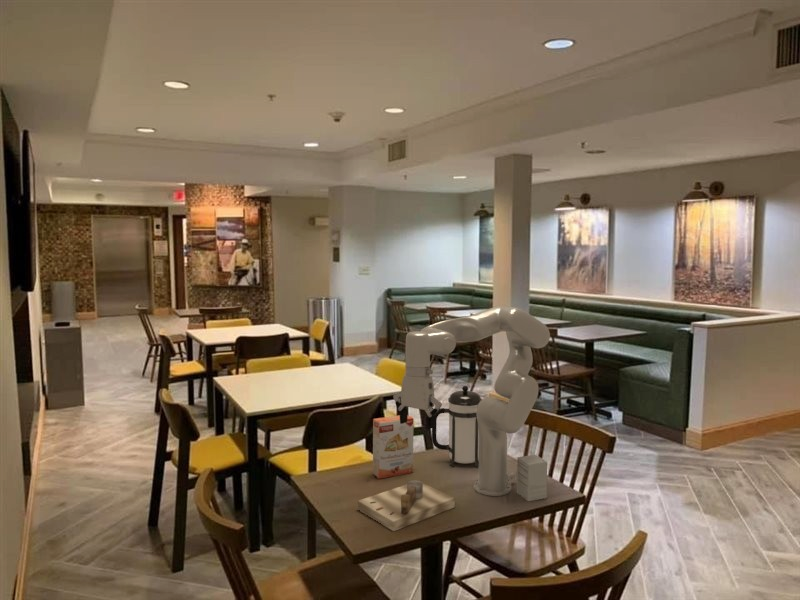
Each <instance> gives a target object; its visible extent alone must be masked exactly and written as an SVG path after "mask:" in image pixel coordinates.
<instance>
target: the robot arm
mask: <svg viewBox="0 0 800 600" xmlns="http://www.w3.org/2000/svg"><path fill="white" fill-rule="evenodd" d="M501 332H504V333H505V335H506V338H507V343H508V347H509V351H508V352H509V353H508V355H507V356H508V357H507V358H506V360H505V363H504V364H503V367H502V368H501V370H500V371H499V374H498V376H497V377H496V380H495V381H494V386H493V387H494V391H495V392H496V394H497V395H499V396H501V397H503V398H504V399H507V400H508V401H506V400H503V399H500V398H497V397H494V396H492V397H491V396H488V397H484V398H481V399H482V400H481V401H480V402H479V404H478V406H477V410H476V415H477V421H478V427H479V460H478V461H479V467H478V478H477V479H478V480H476V481H475V482H474V483H473V489H474V490H475V491H476V492H477V493H479V494H481V495H484V496H489V497H491V496H492V497H500V496H504V495H508V494H509V493H511V490H512V485H511V484H510V483H509V481H510V480H512V479H514V478H515V477H516V475H515V473H514V472H512V471H511V472H509V473H508V472H507V471H508V470H507V469H508V437H507V434H511V435H512V434H515V433H517V432H519V431H520V430H521V429H522V427H523V426H524V424H525V423H526V421H527V419H528V417H529V415H530V412H531V411H532V409H533V407H534V405H535V403H536V401H537V399H538V396H539V384H538V381H537V380H536V378H534V377H532V376H530V375H529V373H530V370H531V369H532V366H533V359H534V358H533V352H532V349H531V348H533V349H541V348H544V347H546V346H547V345H548V343H549V341H550V339H551V333H550V330H549V328H548V326H547V325H546V324H545V323H543V322H542V321H540V320H539V319H537V318H536V317H534V316H533V315H532V314H530V313H529V312H527V311H525V310H523V309H521V308H519V307H514V306H507V305H497V306H494V307H490V308H487V309H485V310H482V311H479V312H477V313H474V314H471V315H468V316H462V317H458V318H457V317H456V318H452V319H447V320H441V321H439V322H436V323H433V324H430V325H427V326H425V327H423V328H422V329H421V330H420V331H419V330H414V331H409V332H407V334H406V336H405V364H404V365H405V369H404V370H405V371H404V372H405V373H404V375H403V377H402V383H401V390H400V392H398V393H396V394H394V395H393V396H392V397H393V400H394V403H395V405H396V407H397V409H398V412H399V415H400V424H403V423H405V422H407V415H408V413H409V412H408V409H407V408H411V409H417V410H422V411H425V413H426V415H427V416H426V418H425V419H426V420H425V429H426V430H427V431H428V430H430V429H431V430H432V428H433V426H434V415H436V413H437V412H439V409H441V408H442V406H443V403H442V402H441V401H439V400H438V399H437V398H436V397H435V386H434V380H433V377H432V376H431V375H433V372H434V370H433V369H431V367H430V366H431V361H430V360H431V355H435V356H436V355H437V356H438V355H439V356H444V355H449V354H451V353H452V352H453V351H455V348H456V346H457V342H476V341H477V342H478V341H480V340H484V339H486V338H488V337H491V336H493V335H496V334H499V333H501ZM433 407H434V408H433Z"/></svg>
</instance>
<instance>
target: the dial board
mask: <svg viewBox="0 0 800 600" xmlns="http://www.w3.org/2000/svg"><path fill="white" fill-rule="evenodd" d="M422 483H423V496H422V497H421V498H419V499H416V500H415V501H414V503H413V505H412V506H411V508H410V510H409V511H408V513H407V514H405V513H401V495H403V494H406V492H407V483H406V484H403V485H401V486H396V487H394V488H392V489H389V490H385V491H383V492H380V493H377V494H374V495H371V496H367V497H366V498H362V499H359V500H357V510H358V511H359V510H360V511H359V512H361V513H362V512H363V514H364V513H365V514H364V515H366V516H367V515H368V516H367V517H369V516H370V517H371V519H372V518H373V519H372V520H374V521H375V520H376V522H377V521H378V523H379V524H380V523H381V525H382V526H384V527H385V528H387V529H389V530H390V531H392V532H395V531H398V530H400V529H403V528H405V527H409V526H410V525H413V524H415V523H418V522H420V521H424V520H426V519H428V518H432V517H434V516H437V515H439V514H441V513H443V512H446V511H449V510H451V509H454V508H455V506H456V505H455V504H456V503H455V502H456V501H455V500H456V498H455V497H453V496H451V495H449V494H447V493H445V492H442V491H440V490H438V489H437V488H434V487H432V486H430V485H428V484H426V483H424V482H422ZM370 517H369V518H370Z"/></svg>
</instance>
